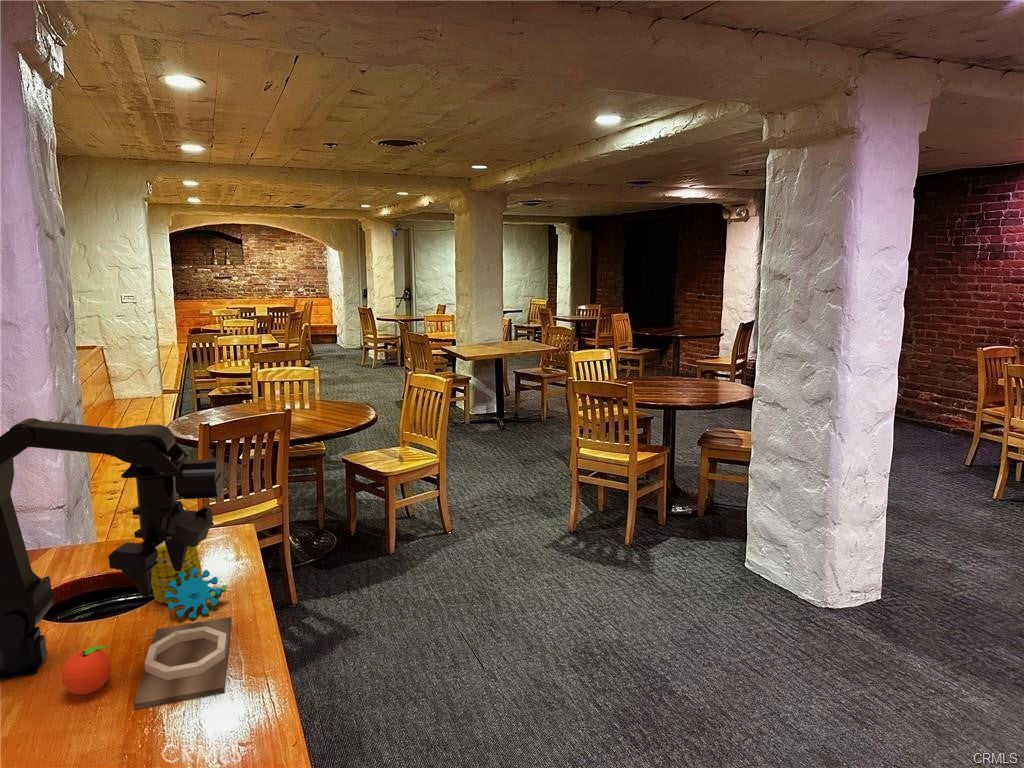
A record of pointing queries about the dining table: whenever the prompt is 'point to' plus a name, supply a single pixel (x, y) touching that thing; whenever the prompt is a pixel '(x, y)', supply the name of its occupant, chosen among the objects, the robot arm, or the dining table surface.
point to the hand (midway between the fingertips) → (163, 583)
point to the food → (172, 572)
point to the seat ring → (185, 669)
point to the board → (180, 654)
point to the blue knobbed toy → (194, 593)
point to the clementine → (86, 670)
